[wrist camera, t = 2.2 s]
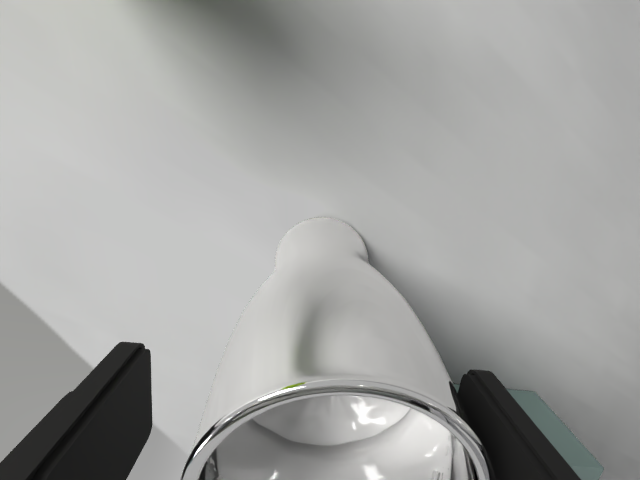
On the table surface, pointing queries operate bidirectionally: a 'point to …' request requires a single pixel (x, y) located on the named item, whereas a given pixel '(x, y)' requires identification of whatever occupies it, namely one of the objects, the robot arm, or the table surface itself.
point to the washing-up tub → (557, 434)
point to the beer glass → (332, 378)
